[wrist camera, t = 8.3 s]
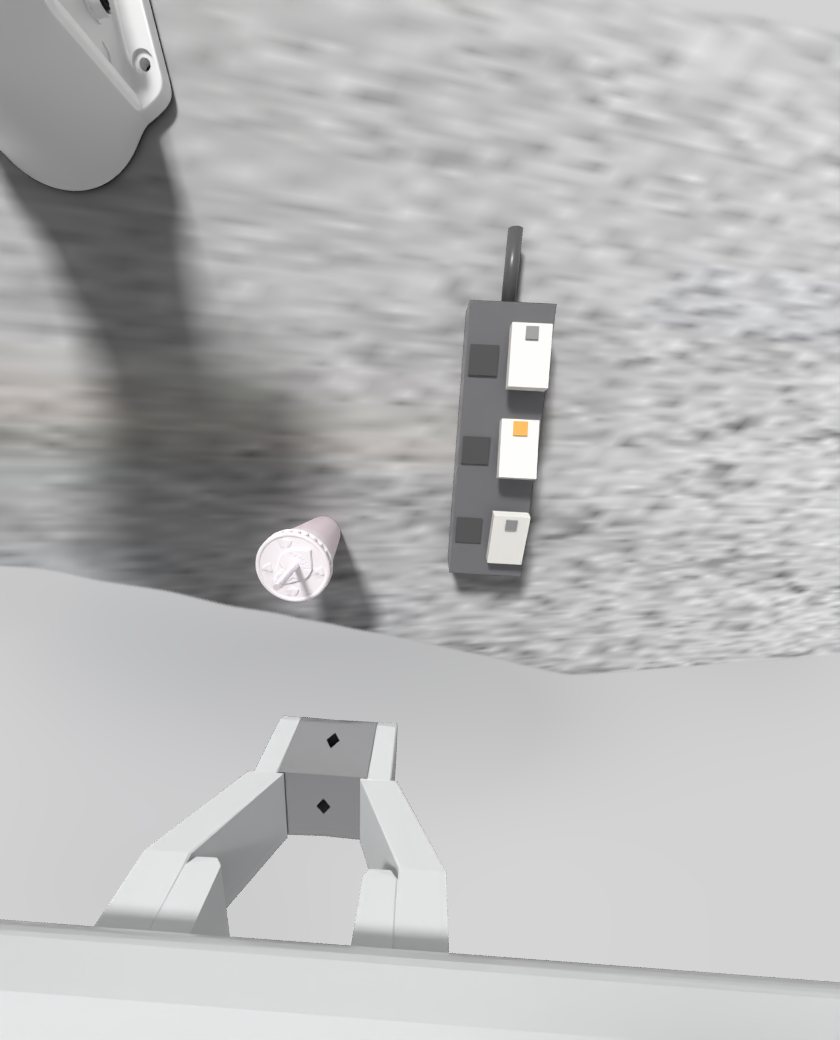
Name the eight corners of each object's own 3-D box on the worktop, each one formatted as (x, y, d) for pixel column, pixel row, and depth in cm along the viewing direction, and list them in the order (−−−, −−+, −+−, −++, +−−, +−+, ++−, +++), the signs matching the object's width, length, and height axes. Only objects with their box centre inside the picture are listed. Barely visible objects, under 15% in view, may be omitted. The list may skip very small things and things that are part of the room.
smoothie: (365, 533, 41) (333, 593, 28) (326, 571, 43) (277, 646, 29) (320, 491, 40) (265, 532, 27) (281, 532, 42) (210, 591, 28)
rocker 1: (509, 327, 32) (512, 321, 30) (548, 329, 32) (553, 322, 30) (505, 389, 32) (508, 385, 31) (544, 391, 32) (548, 387, 31)
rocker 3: (492, 510, 35) (494, 516, 34) (528, 512, 35) (531, 518, 34) (485, 556, 37) (487, 563, 36) (519, 558, 37) (521, 565, 36)
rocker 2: (499, 421, 34) (502, 417, 33) (536, 423, 34) (540, 419, 33) (496, 478, 34) (498, 476, 33) (533, 480, 34) (536, 478, 33)
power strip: (471, 235, 33) (476, 211, 29) (552, 238, 33) (569, 215, 29) (447, 557, 42) (449, 573, 38) (512, 561, 42) (521, 577, 38)
